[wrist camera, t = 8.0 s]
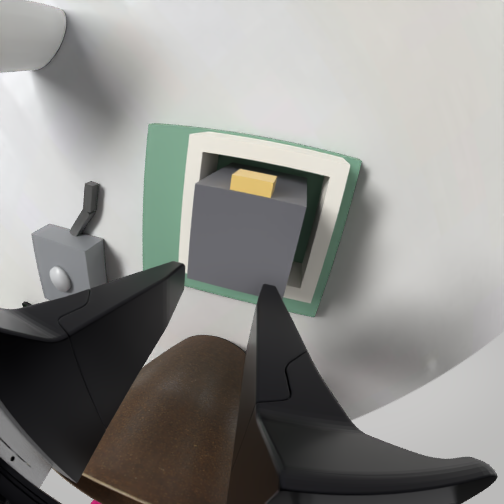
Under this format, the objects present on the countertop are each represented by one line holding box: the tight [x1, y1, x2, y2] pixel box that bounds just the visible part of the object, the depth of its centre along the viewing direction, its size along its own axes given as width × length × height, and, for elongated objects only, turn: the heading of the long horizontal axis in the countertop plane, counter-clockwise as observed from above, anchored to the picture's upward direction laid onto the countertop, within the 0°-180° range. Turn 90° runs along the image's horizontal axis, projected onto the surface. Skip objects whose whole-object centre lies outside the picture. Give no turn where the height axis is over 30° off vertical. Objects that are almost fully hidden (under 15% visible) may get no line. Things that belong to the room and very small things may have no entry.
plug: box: [187, 163, 307, 300], centre depth 15 cm, size 5×4×6 cm
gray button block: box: [32, 181, 107, 300], centre depth 21 cm, size 12×7×3 cm, turn 171°
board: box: [143, 123, 362, 317], centre depth 17 cm, size 11×13×4 cm
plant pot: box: [54, 335, 246, 504], centre depth 18 cm, size 15×15×16 cm
